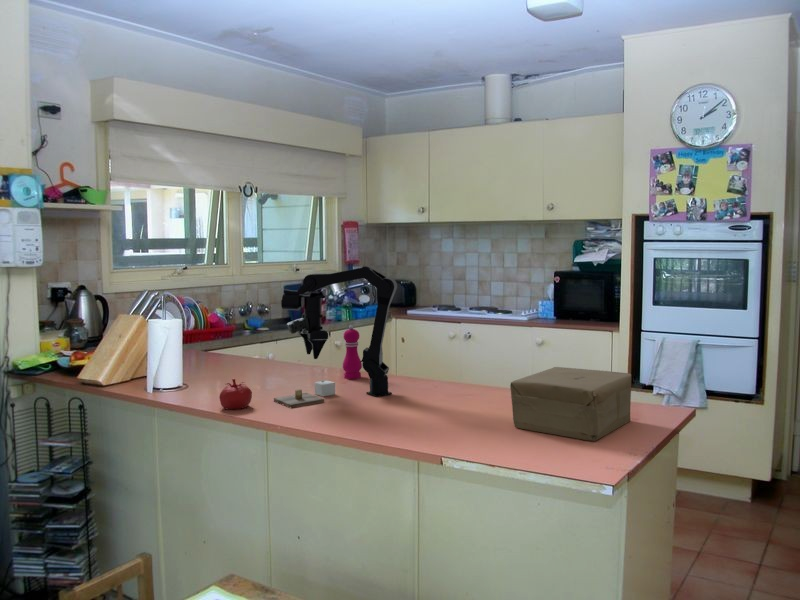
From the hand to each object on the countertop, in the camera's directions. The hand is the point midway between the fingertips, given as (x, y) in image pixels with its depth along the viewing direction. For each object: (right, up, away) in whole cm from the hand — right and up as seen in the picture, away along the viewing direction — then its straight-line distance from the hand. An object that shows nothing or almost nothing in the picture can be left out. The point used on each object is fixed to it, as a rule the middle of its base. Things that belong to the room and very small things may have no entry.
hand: (312, 356), depth 241 cm
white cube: (+4, -13, 0) cm, 14 cm away
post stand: (-3, -14, -11) cm, 18 cm away
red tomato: (-22, -15, -17) cm, 31 cm away
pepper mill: (+12, -10, +27) cm, 31 cm away
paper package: (+78, -16, -44) cm, 91 cm away
